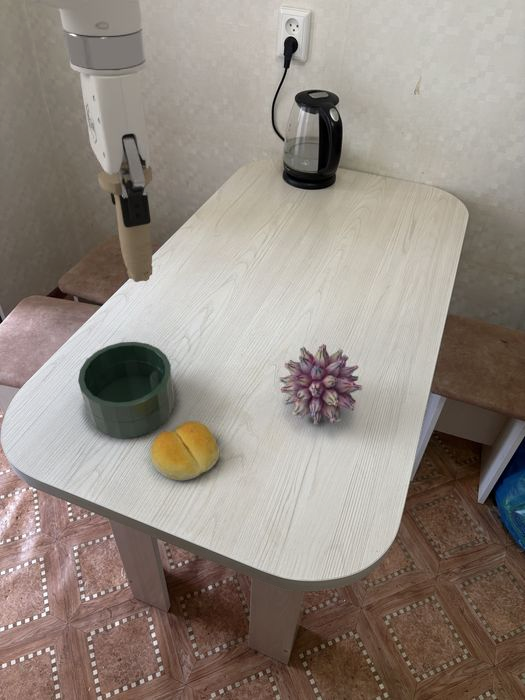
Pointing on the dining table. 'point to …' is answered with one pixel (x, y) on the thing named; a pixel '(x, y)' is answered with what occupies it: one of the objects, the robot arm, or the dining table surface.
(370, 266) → the dining table surface
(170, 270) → the dining table surface
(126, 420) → the pot
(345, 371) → the flower
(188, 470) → the bread roll
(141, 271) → the handle
